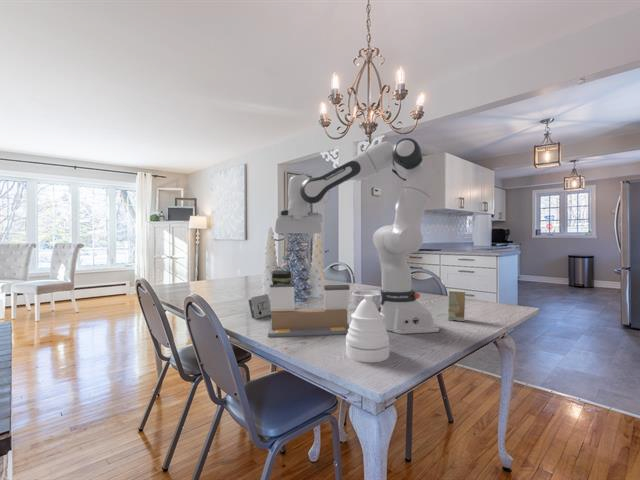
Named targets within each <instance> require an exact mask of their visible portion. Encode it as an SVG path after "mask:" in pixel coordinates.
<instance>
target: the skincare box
mask: <svg viewBox="0 0 640 480" xmlns="http://www.w3.org/2000/svg"><path fill="white" fill-rule="evenodd" d="M465 298H466V290H463V289H450V288H448V309H447V319H448V321H453V320H457V321H456V322H462V321H464V322H465V308H466V307H465V306H466V305H465V304H466V303H465V302H466V299H465Z"/></svg>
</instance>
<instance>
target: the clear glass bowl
mask: <svg viewBox="0 0 640 480" xmlns="http://www.w3.org/2000/svg"><path fill="white" fill-rule="evenodd" d="M380 293H381V290H380V291H379V290H366V289H365V290H358V291H357V290H355V291H353V292H351V303H352V304H353V305H354V306H355V309H357V307H358V305H359V304H360V302H361V301H362V300H364V299H365V298H364V295H373V299H372V301H373V302H374V304H375V305H376V307H377V309H378V310H379V309H380V308H381V302H380Z"/></svg>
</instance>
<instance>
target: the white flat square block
mask: <svg viewBox="0 0 640 480" xmlns="http://www.w3.org/2000/svg"><path fill="white" fill-rule="evenodd" d="M323 288H324V289H323V290H324V291H323V308H324V310H334V309H346V310H348V309H349V296H350V288H351V287H350V284H325V285H323Z"/></svg>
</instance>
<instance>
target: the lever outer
mask: <svg viewBox="0 0 640 480" xmlns="http://www.w3.org/2000/svg"><path fill="white" fill-rule="evenodd" d="M269 289H270V290H269V291H270V293H269V294H270V295H269V296H270V297H269V302H270V310H271V311H272V310H295V309H296V308H295V307H296V305H295V283H291V284H275V285H273V284H269Z"/></svg>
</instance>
